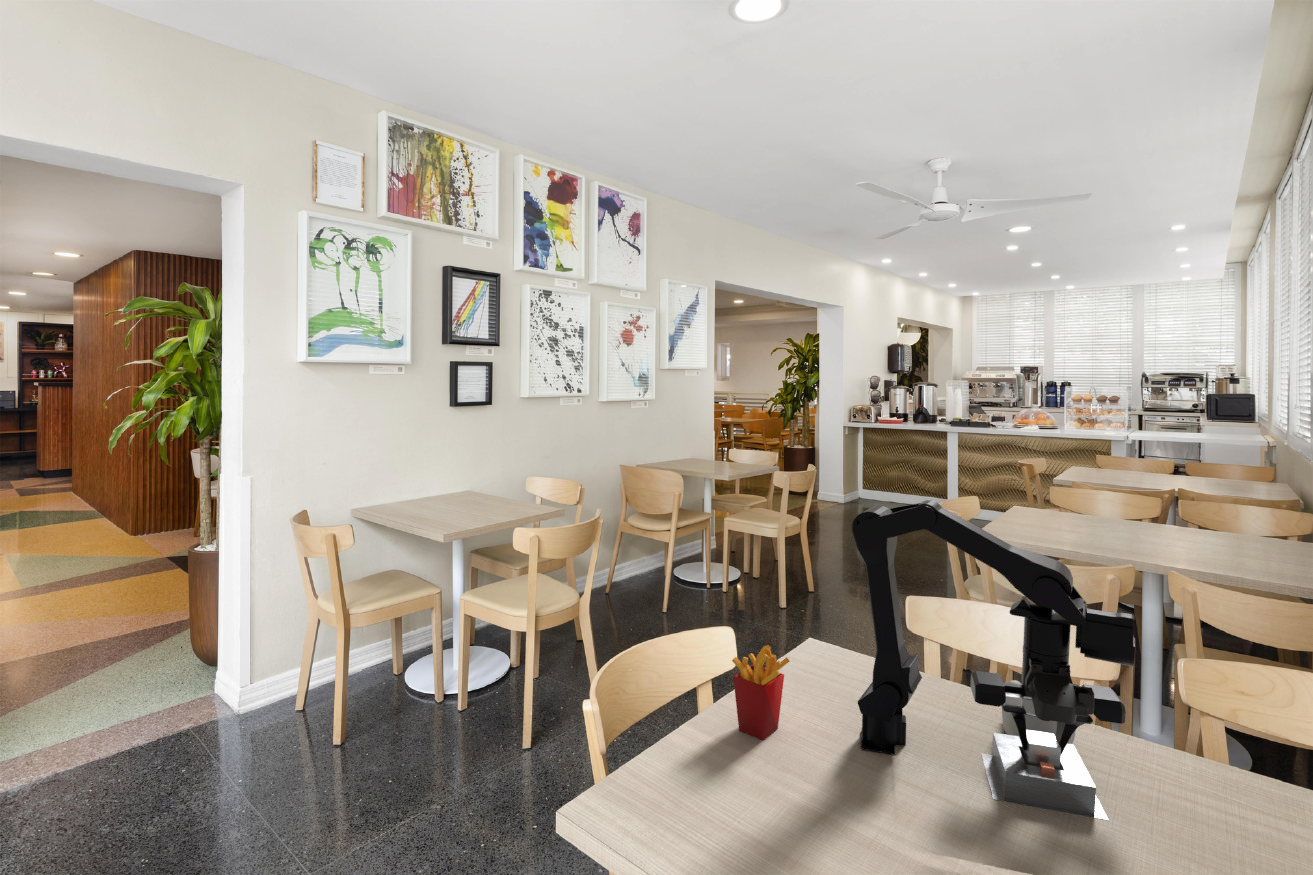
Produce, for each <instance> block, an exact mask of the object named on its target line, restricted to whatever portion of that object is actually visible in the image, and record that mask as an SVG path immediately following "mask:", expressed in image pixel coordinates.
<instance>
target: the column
mask: <svg viewBox="0 0 1313 875" xmlns="http://www.w3.org/2000/svg"><path fill="white" fill-rule="evenodd" d="M1026 732H1027V750H1023V753H1022V757H1023V760H1024V763H1025V764H1026V765H1032V766H1038V767H1039V765H1040V762H1043V763H1050V764H1053V766H1054V769H1056V770H1060V758H1061V747H1060V745H1059V743H1058V741H1057V739H1056V737H1055V735H1054V734H1052V733H1045V732H1039V731H1032V730H1026Z"/></svg>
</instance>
